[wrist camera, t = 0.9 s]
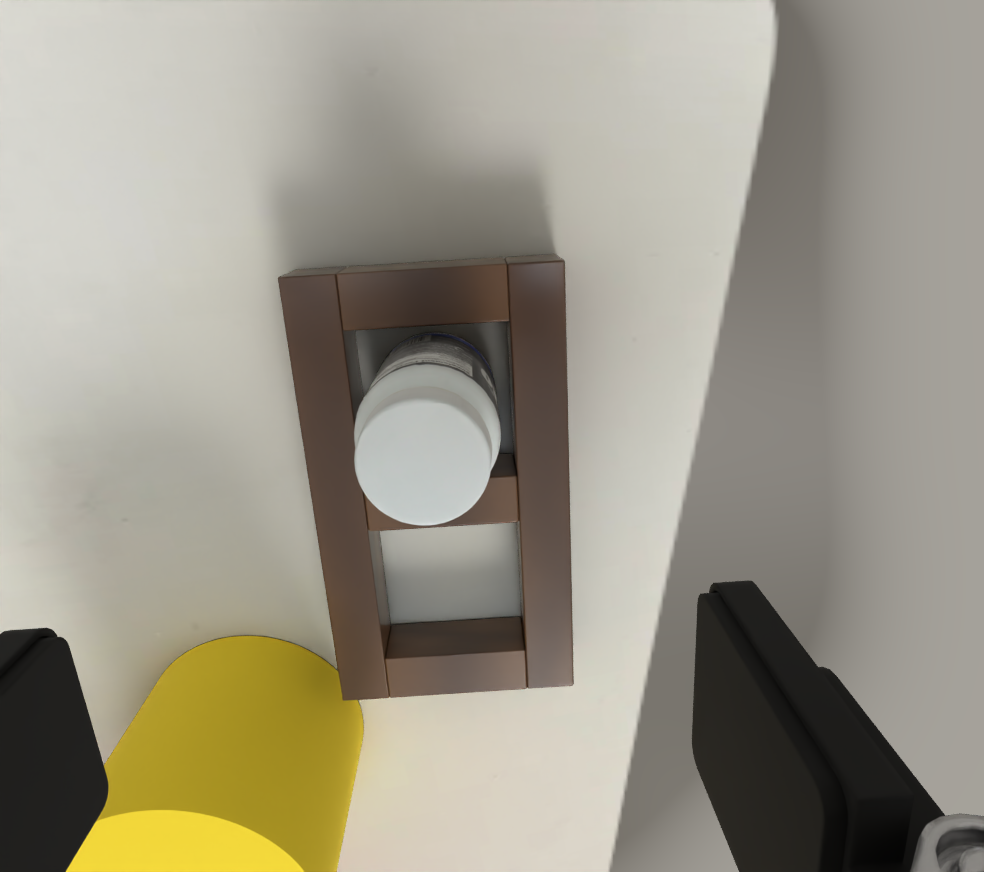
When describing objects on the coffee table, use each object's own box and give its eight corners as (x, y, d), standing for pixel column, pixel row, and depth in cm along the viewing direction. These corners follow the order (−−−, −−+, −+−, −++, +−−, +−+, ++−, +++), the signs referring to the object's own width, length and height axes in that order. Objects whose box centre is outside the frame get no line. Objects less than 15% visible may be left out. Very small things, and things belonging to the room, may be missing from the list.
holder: (351, 664, 32) (342, 701, 30) (294, 269, 26) (277, 277, 24) (566, 650, 32) (573, 686, 30) (556, 253, 27) (564, 259, 24)
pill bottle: (488, 449, 29) (495, 546, 21) (374, 438, 29) (337, 533, 21) (501, 335, 27) (513, 395, 20) (380, 323, 27) (343, 378, 19)
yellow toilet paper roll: (390, 671, 32) (360, 852, 24) (330, 827, 35) (282, 1040, 27) (174, 609, 31) (55, 777, 22) (130, 777, 34) (9, 984, 25)
